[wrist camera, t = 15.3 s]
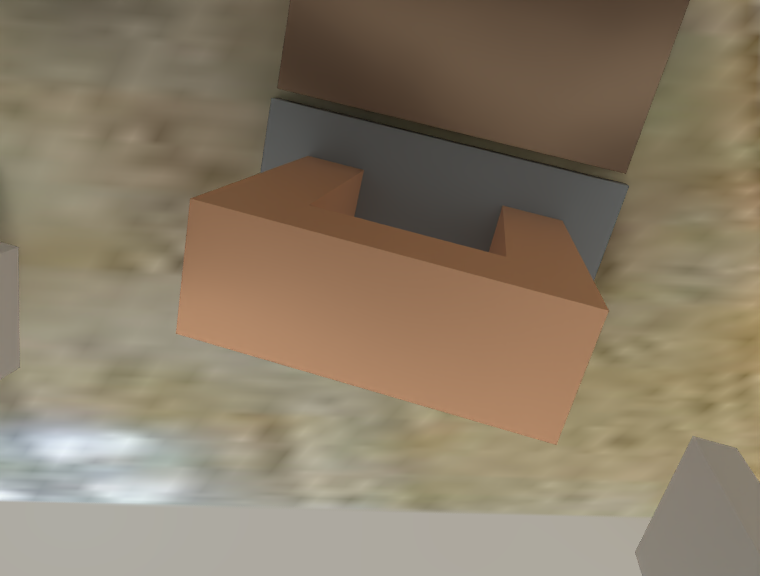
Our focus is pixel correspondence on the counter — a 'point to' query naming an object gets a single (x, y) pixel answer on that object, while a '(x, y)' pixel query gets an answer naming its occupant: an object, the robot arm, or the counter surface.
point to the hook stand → (491, 67)
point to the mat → (444, 180)
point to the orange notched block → (392, 298)
